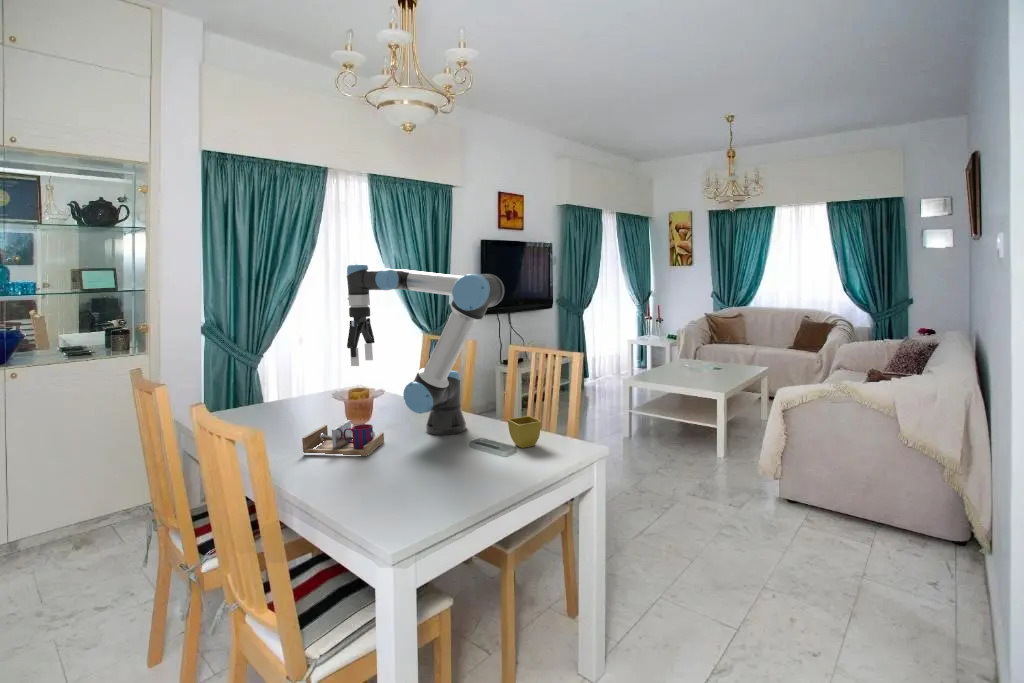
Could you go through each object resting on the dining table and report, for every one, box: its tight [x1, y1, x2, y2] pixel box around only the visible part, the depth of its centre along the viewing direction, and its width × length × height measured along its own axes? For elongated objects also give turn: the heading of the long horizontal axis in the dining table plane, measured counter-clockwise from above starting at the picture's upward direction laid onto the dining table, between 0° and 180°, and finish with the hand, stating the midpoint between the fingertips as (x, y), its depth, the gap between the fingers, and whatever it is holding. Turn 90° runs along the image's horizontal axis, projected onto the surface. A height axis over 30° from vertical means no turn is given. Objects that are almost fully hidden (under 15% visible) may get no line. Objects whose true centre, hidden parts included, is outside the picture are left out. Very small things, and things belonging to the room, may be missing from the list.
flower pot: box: [507, 415, 542, 449], centre depth 185 cm, size 9×9×9 cm
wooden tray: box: [301, 424, 385, 457], centre depth 186 cm, size 22×16×6 cm
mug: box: [343, 423, 374, 449], centre depth 185 cm, size 7×10×7 cm
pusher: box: [320, 419, 353, 449], centre depth 186 cm, size 8×12×7 cm, turn 173°
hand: (362, 363), depth 203 cm, fingers open, 13 cm apart
